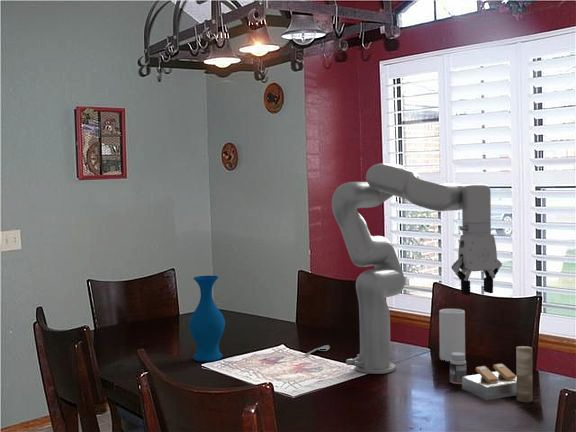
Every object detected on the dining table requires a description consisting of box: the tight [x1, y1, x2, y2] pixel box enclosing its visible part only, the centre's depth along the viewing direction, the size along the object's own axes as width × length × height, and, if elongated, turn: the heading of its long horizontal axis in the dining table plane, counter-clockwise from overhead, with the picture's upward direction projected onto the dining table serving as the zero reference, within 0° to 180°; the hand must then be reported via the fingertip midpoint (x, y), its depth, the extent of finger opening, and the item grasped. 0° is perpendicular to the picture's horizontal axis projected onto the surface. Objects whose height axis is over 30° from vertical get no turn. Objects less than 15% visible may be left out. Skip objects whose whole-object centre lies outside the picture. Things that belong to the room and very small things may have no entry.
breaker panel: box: [461, 370, 517, 401], centre depth 185 cm, size 14×11×4 cm
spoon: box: [303, 344, 331, 357], centre depth 230 cm, size 4×21×2 cm, turn 140°
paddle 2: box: [492, 363, 517, 380], centre depth 186 cm, size 3×6×1 cm, turn 21°
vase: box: [188, 275, 226, 363], centre depth 226 cm, size 12×13×28 cm
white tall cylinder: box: [438, 308, 466, 362], centre depth 220 cm, size 8×8×16 cm
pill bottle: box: [449, 352, 467, 385], centre depth 194 cm, size 5×5×8 cm
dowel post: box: [515, 345, 534, 403], centre depth 176 cm, size 4×4×14 cm
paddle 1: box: [475, 365, 498, 383], centre depth 183 cm, size 3×6×1 cm, turn 21°
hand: (477, 293), depth 183 cm, fingers open, 6 cm apart
